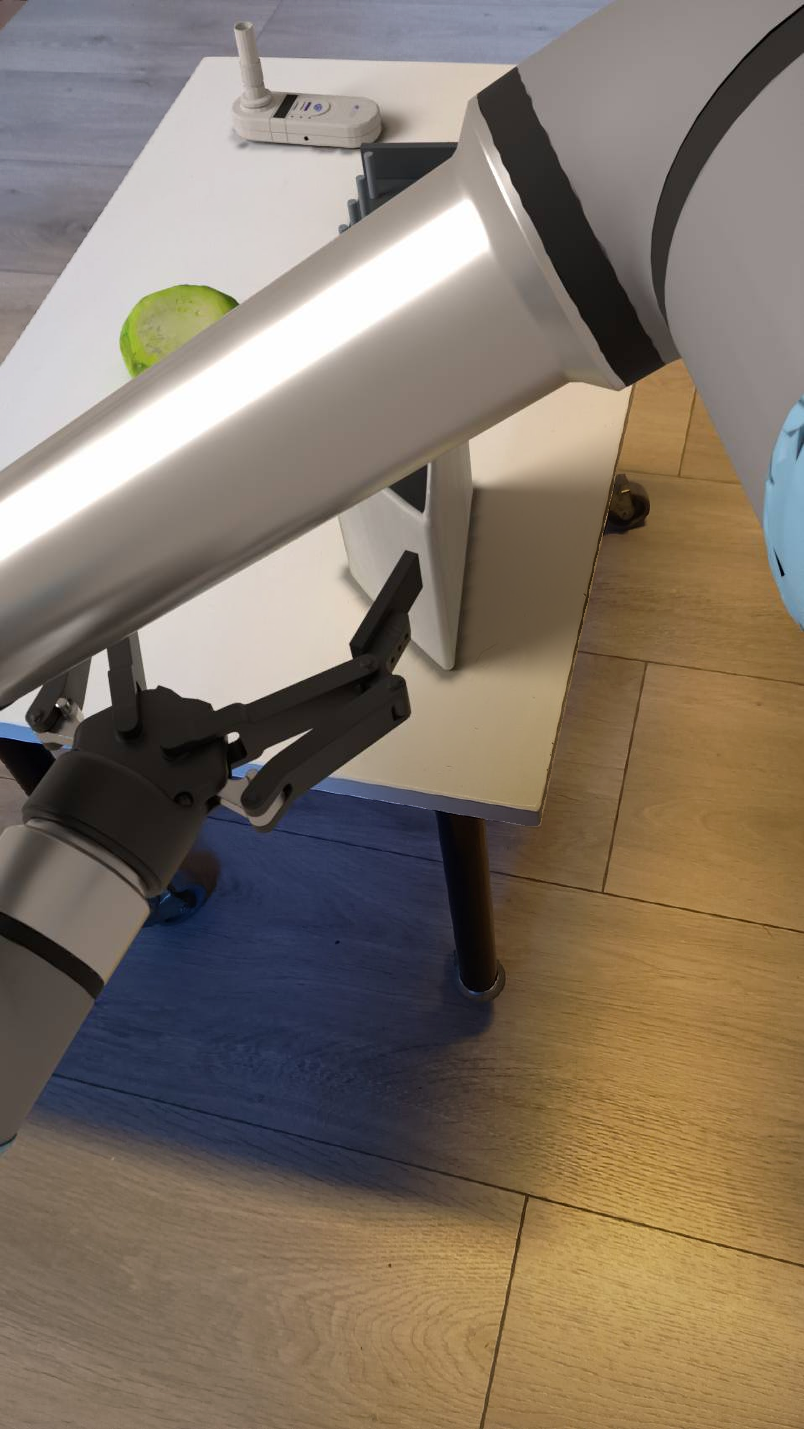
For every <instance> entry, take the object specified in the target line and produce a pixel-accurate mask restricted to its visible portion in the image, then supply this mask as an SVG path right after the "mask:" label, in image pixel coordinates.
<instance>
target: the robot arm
mask: <svg viewBox="0 0 804 1429" xmlns="http://www.w3.org/2000/svg"><path fill="white" fill-rule="evenodd" d="M457 142H458V146H457V149H456V151H455V152H454V154H453V156H452V157H451V158H450V159H448V160H447V161H445V162H444V163H442V164H441V165H440V166H438V167H437V168H435V169H434V170H432V171H431V172H429V173H428V174H427V175H425V176H424V177H422V178H421V179H419V180H418V181H417V182H415V183H414V184H412V185H411V186H409V187H408V188H406V189H405V190H404V191H402V192H401V193H399V194H398V195H396V196H395V197H394V198H392V199H391V200H389V201H388V202H386V203H385V204H383V205H382V206H381V207H379V208H378V209H376V210H375V211H373V212H372V213H371V214H369V215H368V216H366V217H365V218H363V219H362V220H360V221H359V222H358V223H356V224H355V225H353V226H352V227H350V228H349V229H348V230H346V231H345V232H343V233H342V234H340V235H337V236H336V237H334V238H333V239H332V240H330V241H329V242H327V243H326V244H324V245H322V246H321V247H320V248H318V249H317V250H316V251H315V252H313V253H311V254H309V256H307V257H305V258H304V259H303V260H301V261H300V262H299V263H297V264H296V265H294V266H293V267H291V268H290V269H288V270H287V271H286V272H284V273H283V274H281V275H280V276H278V277H277V278H275V279H274V280H273V281H271V282H270V283H268V284H266V285H265V286H264V287H263V288H261V289H259V291H257V292H256V293H254V294H253V295H251V296H250V297H248V298H247V299H245V300H244V301H243V302H241V303H239V304H240V305H238V306H237V307H235V308H234V309H233V310H231V311H230V312H228V313H227V314H225V315H224V316H222V317H221V318H220V319H218V320H217V321H215V322H214V323H212V324H211V325H209V326H208V327H207V328H205V329H204V330H202V331H201V332H199V333H198V334H197V335H195V336H194V337H192V338H191V339H189V340H188V341H186V342H185V343H184V344H182V345H181V346H179V347H178V348H176V349H175V350H174V351H172V352H171V353H169V354H168V355H166V356H165V357H163V358H162V359H161V360H159V361H158V362H156V363H155V364H153V365H152V366H151V367H149V368H148V369H146V370H145V371H143V372H142V373H140V374H139V375H138V376H136V377H135V378H132V379H131V380H129V381H128V382H126V383H125V384H123V385H121V386H120V387H119V388H117V389H116V390H115V391H113V392H111V393H110V394H109V395H107V396H106V397H105V398H103V399H102V400H100V401H99V402H97V403H96V404H94V405H92V407H90V408H89V409H87V410H86V411H84V412H83V413H82V414H80V415H79V416H77V417H76V418H75V419H73V420H71V421H70V422H69V423H67V424H66V425H63V427H61V428H60V429H58V430H57V431H55V432H54V433H53V434H51V435H50V436H48V437H47V438H45V439H44V440H43V441H41V442H39V444H37V445H36V446H34V447H33V448H31V449H30V450H28V451H27V452H26V453H24V454H22V455H20V456H19V457H18V458H17V459H15V460H14V461H12V462H11V463H10V464H8V465H7V466H5V467H4V468H2V469H1V470H0V712H2V711H4V710H5V709H7V708H9V707H10V706H11V705H13V704H14V703H16V702H17V701H18V700H19V699H21V698H23V697H25V696H26V695H28V694H30V693H31V692H33V691H35V690H37V689H39V688H40V687H41V688H40V689H39V691H38V692H37V693H36V694H37V695H36V696H35V697H34V699H33V701H32V702H31V705H29V707H28V708H27V709H28V710H27V711H26V712H25V715H24V719H25V722H26V723H27V725H28V726H29V727H30V729H31V730H32V733H33V734H34V735H35V736H36V738H37V739H38V740H39V741H40V743H41V744H42V746H43V747H44V748H45V750H48V751H51V752H53V751H54V752H55V751H58V750H60V749H62V748H63V747H64V746H66V747H71V748H70V750H69V751H66V752H63V753H61V754H60V755H59V756H58V757H57V758H56V759H55V761H54V762H53V763H52V765H51V766H50V767H49V769H48V770H47V772H45V775H44V776H43V777H42V779H41V780H40V782H39V783H38V784H37V785H36V787H35V788H34V790H33V791H32V793H31V794H30V795H29V797H28V798H27V799H26V801H25V802H24V804H23V805H22V807H21V819H22V823H23V824H13V825H11V826H8V827H5V829H4V830H3V832H1V835H0V1156H1V1155H4V1154H5V1153H6V1152H8V1150H9V1149H10V1148H11V1147H12V1145H13V1144H14V1143H15V1141H16V1138H17V1136H18V1135H19V1133H18V1132H19V1130H20V1129H21V1126H22V1125H23V1123H24V1121H26V1119H27V1117H28V1116H29V1113H30V1112H31V1110H32V1109H33V1107H34V1105H35V1103H36V1102H37V1100H38V1098H39V1096H40V1095H41V1093H42V1092H43V1090H44V1088H45V1087H46V1085H47V1083H48V1082H49V1080H50V1078H51V1076H52V1075H53V1073H54V1071H55V1070H56V1068H57V1066H58V1065H59V1063H60V1062H61V1060H62V1059H63V1056H64V1055H65V1053H66V1051H67V1050H68V1048H69V1046H70V1045H71V1043H72V1041H73V1040H74V1038H75V1037H76V1034H77V1033H78V1031H79V1030H80V1028H81V1026H82V1025H83V1023H84V1021H85V1020H86V1018H87V1016H88V1015H89V1013H90V1011H91V1010H92V1008H93V1007H94V1005H95V1002H96V1000H97V999H98V997H99V995H100V994H101V992H102V991H103V989H104V987H105V986H106V985H107V983H108V982H109V980H110V979H111V977H112V975H113V974H114V972H115V971H116V969H117V967H118V966H119V964H120V962H121V961H122V959H123V958H124V956H125V955H126V953H127V951H128V950H129V948H130V947H131V945H132V943H133V941H134V940H135V938H136V937H137V935H138V934H139V932H140V931H141V929H142V927H143V926H144V924H145V922H146V921H147V919H148V917H149V916H150V913H151V912H150V910H151V909H150V906H149V902H148V900H147V899H153V898H155V897H157V896H160V895H163V893H165V891H166V889H167V888H168V886H169V884H170V883H171V881H172V879H173V878H174V876H175V875H176V873H177V872H178V870H179V868H180V867H181V865H182V864H183V861H184V860H185V859H186V857H187V855H188V853H189V852H190V851H191V849H192V847H193V845H194V844H195V842H196V840H197V838H198V836H199V832H200V830H201V828H202V826H203V823H204V822H205V820H206V819H207V817H208V816H210V814H212V813H214V811H216V810H217V809H218V808H221V807H222V806H224V807H226V808H228V809H229V810H231V811H233V812H235V813H237V814H238V815H240V816H243V817H244V818H246V819H248V821H249V823H250V825H251V828H252V829H253V831H255V832H256V833H258V834H262V835H264V834H268V833H270V832H272V831H273V830H274V829H275V828H276V827H277V825H278V824H279V823H280V821H281V820H282V818H283V817H284V816H285V815H286V813H287V812H288V810H289V809H290V808H291V806H292V805H293V803H294V802H295V801H296V800H298V799H299V798H300V797H301V796H303V795H304V794H306V793H307V792H308V791H310V790H311V789H313V788H314V787H316V786H317V785H318V784H320V783H321V782H323V781H324V780H325V779H326V778H328V777H330V776H331V775H332V774H334V773H335V772H337V771H338V770H340V768H342V767H343V766H345V765H346V764H348V763H349V762H350V761H352V760H353V759H355V758H356V757H357V756H359V755H360V754H362V753H363V752H364V751H366V750H367V749H368V748H370V747H371V746H373V745H374V744H375V743H377V742H378V741H380V740H381V739H382V738H384V737H386V736H387V735H388V734H390V733H391V732H392V731H394V730H395V729H396V728H398V727H399V726H400V725H402V724H403V723H405V722H406V721H407V720H408V719H409V718H410V717H411V715H412V705H411V701H410V695H409V689H408V685H407V684H408V683H407V680H406V679H405V678H404V677H403V676H402V675H400V674H395V673H394V674H393V672H394V670H395V668H396V667H397V664H398V663H399V661H400V659H401V658H402V656H403V654H404V652H405V651H406V649H407V647H408V646H409V643H410V642H411V640H412V639H411V627H410V621H409V615H408V613H409V611H410V609H411V607H412V606H413V604H414V602H415V600H416V599H417V597H418V595H419V593H420V592H421V590H422V588H423V583H422V576H421V569H420V562H419V555H418V553H415V552H411V551H408V550H405V551H404V553H403V554H402V556H401V558H400V559H399V561H398V563H397V564H396V566H395V568H394V569H393V571H392V573H391V574H390V576H389V578H388V579H387V581H386V583H385V584H384V586H383V588H382V589H381V591H380V593H379V594H378V596H377V598H376V599H375V601H373V603H372V604H371V606H370V608H369V610H368V611H367V613H366V614H365V616H364V617H363V620H362V621H361V623H360V625H359V626H358V627H357V629H356V630H355V633H354V634H353V636H352V638H350V639H351V640H350V641H349V642H348V646H349V649H350V655H351V659H350V660H346V661H344V662H342V663H340V664H337V665H335V666H333V667H330V668H328V669H326V670H324V671H321V672H318V673H316V674H313V675H312V676H309V677H306V678H304V679H302V680H300V681H297V682H295V683H293V684H291V685H288V686H285V687H283V688H281V689H279V690H276V691H274V692H272V693H269V694H268V695H264V696H263V697H260V698H258V699H255V700H253V701H251V702H249V703H248V702H247V703H242V702H233V703H230V704H228V705H226V706H222V707H220V708H218V709H216V710H215V709H214V707H213V705H212V703H210V702H208V701H205V700H202V699H199V698H194V697H183V696H181V695H180V694H178V693H177V692H176V691H174V690H173V689H171V688H169V687H166V686H163V685H160V684H158V685H157V686H156V687H155V688H148V687H147V680H146V674H145V668H144V662H143V656H142V649H141V643H140V637H139V632H138V631H140V630H141V629H143V628H145V627H147V626H148V625H150V624H152V623H154V622H155V621H157V620H158V619H161V618H163V617H164V616H166V615H167V614H169V613H171V612H173V611H174V610H176V609H178V608H180V607H182V606H184V605H185V604H186V603H188V602H190V601H192V600H194V599H195V598H197V597H199V596H200V595H202V594H204V593H206V592H208V591H209V590H211V589H212V588H214V587H217V586H218V585H220V584H222V583H223V582H225V581H227V580H228V579H230V578H232V577H234V576H236V575H238V574H239V573H240V572H242V571H244V570H246V569H247V568H249V567H251V566H253V565H254V564H256V563H258V562H260V561H261V560H263V559H266V557H268V556H271V555H272V554H273V553H275V552H277V551H279V550H280V549H282V548H284V547H286V546H288V545H289V544H291V543H293V542H294V541H296V540H298V539H300V538H302V537H303V536H305V535H307V534H308V533H310V532H312V531H314V530H316V529H317V528H319V527H321V526H322V525H325V524H326V523H327V522H329V521H331V520H333V519H335V518H336V517H338V515H340V514H342V513H343V512H345V511H347V510H348V509H350V508H352V507H354V506H355V505H357V504H359V503H361V502H362V501H364V500H366V499H368V498H369V497H371V496H373V495H375V494H376V493H378V492H380V491H382V490H383V489H385V488H387V487H389V486H390V485H392V484H394V483H395V482H397V481H399V480H401V479H402V478H404V477H406V476H408V475H409V474H411V473H413V472H415V471H416V470H418V469H420V468H422V467H423V466H425V465H427V464H429V463H430V462H432V461H434V460H435V459H437V458H439V457H441V456H442V455H444V454H446V453H448V452H449V451H451V450H453V449H455V448H456V447H458V446H460V445H462V444H463V443H465V442H467V441H469V442H470V440H472V439H474V438H475V437H477V436H479V435H481V434H482V433H485V432H486V431H488V430H489V429H491V428H493V427H495V426H497V425H498V424H500V423H502V422H503V421H505V420H507V419H509V418H510V417H512V416H514V415H516V414H518V413H519V412H521V411H523V410H524V409H526V408H528V407H529V406H531V405H533V404H535V403H536V402H538V401H540V400H542V399H544V398H545V397H547V396H549V395H551V394H552V393H554V392H556V391H558V390H559V389H561V388H563V387H564V386H566V385H568V384H569V383H583V384H586V385H591V386H593V387H594V386H595V387H599V388H603V389H606V390H611V391H614V392H620V391H623V390H624V389H626V388H629V387H630V386H632V385H634V384H636V383H638V382H639V381H641V380H642V379H645V378H646V377H648V376H650V375H651V374H653V373H655V372H657V371H658V370H661V369H662V368H664V367H665V366H667V365H669V364H671V363H674V362H676V361H678V360H682V362H683V364H684V366H685V368H686V370H687V373H688V374H689V377H690V379H691V381H692V384H693V385H694V387H695V390H696V392H697V394H698V396H699V398H700V400H701V402H702V404H703V406H704V409H705V411H706V413H707V415H708V417H709V419H710V421H711V424H712V426H713V428H714V430H715V432H716V434H717V436H718V439H719V440H720V442H721V445H722V447H723V449H724V451H725V453H726V455H727V457H728V460H729V461H730V464H731V466H732V468H733V470H734V472H735V474H736V476H737V479H738V481H739V483H740V485H741V487H742V489H743V491H744V494H745V496H746V498H747V499H748V502H749V504H750V507H751V509H752V510H753V513H754V514H755V517H756V519H757V521H758V523H759V524H760V528H761V529H762V532H763V535H764V540H765V548H766V553H767V560H768V565H769V568H770V571H771V574H772V576H773V579H774V581H775V584H776V587H777V589H778V591H779V594H780V597H781V600H782V602H783V604H784V606H785V608H786V611H787V612H788V614H789V615H790V617H791V618H792V619H793V621H795V623H796V624H797V625H798V627H799V628H800V629H801V630H802V631H803V633H804V0H614V1H613V2H611V3H609V4H607V5H606V6H605V7H603V8H601V9H600V10H598V11H596V12H595V13H593V14H591V15H590V16H588V17H586V18H585V19H583V20H581V21H579V22H578V23H576V24H575V25H573V26H572V27H571V28H569V29H567V30H566V31H565V32H563V33H562V34H560V35H559V36H558V37H556V38H554V40H552V41H550V42H549V43H547V44H546V45H545V46H543V47H542V48H540V49H539V50H536V52H534V53H533V54H532V55H530V56H529V57H527V58H526V59H524V60H523V61H521V62H519V63H518V64H517V65H516V66H514V67H512V68H511V69H510V70H509V71H507V72H506V73H504V74H503V75H502V76H500V77H499V78H497V79H496V80H494V81H493V82H491V83H490V84H489V85H488V86H486V87H484V88H483V89H481V90H480V91H479V92H477V93H476V94H475V95H473V96H471V98H470V99H469V100H468V101H467V104H466V108H465V112H464V116H463V121H462V125H461V129H460V133H459V138H458V141H457ZM105 650H106V656H107V662H108V668H109V670H107V679H108V686H109V694H110V701H111V705H110V706H108V707H106V708H104V709H101V710H100V711H98V712H95V713H93V714H92V715H90V716H88V717H86V718H85V715H84V713H83V709H84V706H85V700H86V694H87V688H88V684H89V683H88V682H89V676H90V670H91V666H92V665H91V664H92V658H93V657H94V656H96V655H98V654H99V653H101V652H103V651H105ZM232 733H237V734H238V738H237V739H235V740H232V741H231V742H229V735H230V734H232ZM302 734H303V735H302ZM299 735H301V736H300V737H298V738H297V739H296V740H295V741H293V742H292V743H290V744H288V745H287V746H286V747H284V748H283V749H282V750H280V751H279V752H277V753H276V754H275V755H273V756H272V757H271V758H270V759H269V760H268V761H267V762H265V763H264V764H263V765H262V767H261V768H260V769H259V770H258V769H256V768H250V769H248V770H247V771H246V774H245V776H244V777H242V778H240V779H233V770H236V769H237V768H240V767H242V766H244V765H247V764H249V763H252V762H253V761H256V760H258V759H259V758H260V757H261V756H262V755H263V754H264V752H265V751H266V750H267V749H269V748H271V747H274V746H277V745H278V744H281V743H282V742H286V741H287V740H290V739H293V738H294V737H297V736H299Z"/></svg>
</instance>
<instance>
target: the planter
mask: <svg viewBox="0 0 804 1429" xmlns="http://www.w3.org/2000/svg"><path fill="white" fill-rule="evenodd" d="M471 463H472V462H471V450H470V440H469V441H467V442H465V443H463V444H462V445H460V446H458V447H456V448H455V449H453V450H451V451H449V452H448V453H446V454H444V455H442V456H441V457H439V458H437V459H435V460H434V461H432V462H430V463H429V464H427V465H425V466H423V467H422V468H420V469H418V470H416V471H415V472H413V473H411V474H409V475H408V476H406V477H404V478H402V479H401V480H399V481H397V482H395V483H394V484H392V485H390V486H389V487H387V488H385V489H383V490H382V491H380V492H378V493H376V494H375V495H373V496H371V497H369V498H368V499H366V500H364V501H362V502H361V503H359V504H357V505H355V506H354V507H352V508H350V509H348V510H347V511H345V512H343V513H342V514H340V515H338V516H337V520H338V524H339V528H340V534H341V537H342V541H343V545H344V550H345V554H346V558H347V563H348V567H349V568H348V569H349V572H350V575H351V576H352V577H353V579H354V580H355V581H356V582H357V583H358V585H359V586H360V587H361V588H362V590H363V591H364V592H365V593H366V594H367V596H368V597H369V598H370V599H371V600H372V601H373V602H374V601H375V599H376V598H377V596H378V594H379V593H380V591H381V589H382V588H383V586H384V584H385V583H386V581H387V579H388V578H389V576H390V574H391V573H392V571H393V569H394V568H395V566H396V564H397V563H398V561H399V559H400V558H401V556H402V554H403V553H404V551H405V550H408V551H411V552H415V553H418V555H419V562H420V569H421V576H422V583H423V588H422V590H421V592H420V593H419V595H418V597H417V599H416V600H415V602H414V604H413V606H412V607H411V609H410V611H409V613H408V615H409V621H410V627H411V640H412V641H413V642H414V643H415V644H416V645H417V646H418V647H419V648H420V649H421V650H422V651H423V652H425V653H426V654H427V655H428V656H429V657H430V658H431V659H432V660H434V662H435V663H437V664H438V665H439V666H440V667H441V668H442V669H443V670H445V671H451V670H452V669H453V668H454V666H455V662H456V652H457V651H456V649H457V640H458V633H459V632H458V631H459V622H460V612H461V603H462V593H463V585H464V577H465V576H464V575H465V566H466V557H467V548H468V538H469V529H470V528H469V527H470V520H471V510H472V503H473V502H472V499H473V494H474V486H473V485H474V484H473V474H472V464H471Z"/></svg>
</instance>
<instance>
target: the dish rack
mask: <svg viewBox="0 0 804 1429" xmlns="http://www.w3.org/2000/svg"><path fill="white" fill-rule="evenodd" d="M457 146H458V141H421V142H420V141H414V142H413V141H412V142H410V141H409V142H372V143H361V146H360V147H359V152H360V159H361V164H362V173H363V174H357V175H356V176H355V182H356V189H357V195H358V198H357V199H355V198H350V199H348V200H347V203H346V204H347V210H348V217H349V223H348V224H344V223H343V224H340V225H339V226H338V234H339V235H340V234H342V233H343V232H345V231H346V230H348V229H349V228H350V227H352V226H353V225H355V224H356V223H358V222H359V221H360V220H362V219H363V218H365V217H366V216H368V215H369V214H371V213H372V212H373V211H375V210H376V209H378V208H379V207H381V206H382V205H383V204H385V203H386V202H388V201H389V200H391V199H392V198H394V197H395V196H396V195H398V194H399V193H401V192H402V191H404V190H405V189H406V188H408V187H409V186H411V185H412V184H414V183H415V182H417V181H418V180H419V179H421V178H422V177H424V176H425V175H427V174H428V173H429V172H431V171H432V170H434V169H435V168H437V167H438V166H440V165H441V164H442V163H444V162H445V161H447V160H448V159H450V158H451V157H452V156H453V154H454V152H455V151H456V149H457ZM339 235H338V236H339Z"/></svg>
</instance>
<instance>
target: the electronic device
mask: <svg viewBox="0 0 804 1429" xmlns="http://www.w3.org/2000/svg"><path fill="white" fill-rule="evenodd" d="M233 31H234V38H235V41H236V46H237V52H238V58H239V62H238V64H239V69H240V76H241V79H242V80H241V81H242V84H243V89H244V92H243V93H241V95H240V96H239V97H237V98H236V99H235V100H234V101H233V103H232V104H231V109H230V110H231V111H230V114H231V117H232V118H231V119H232V123H233V127H234V131H235V132H236V134H237V135H238V136H239V137H240V138H242V139H244V140H247V141H255V142H268V143H279V144H291V145H292V144H293V145H294V144H295V145H307V146H318V147H336V148H337V147H339V148H345V149H347V148H348V149H356V148H360V146H361V143H374V142H375V141H376V140H378V138H379V137H380V135H381V132H382V121H381V120H382V119H381V118H382V117H381V109H380V107H379V104H378V103H377V102H376V101H374V100H373V99H370V98H367V97H364V96H351V95H350V96H348V95H334V94H319V93H307V92H306V93H303V92H291V91H289V92H288V91H276V90H270V89H269V88H266V85H265V81H264V79H265V78H264V73H263V69H262V68H263V66H262V61H261V58H260V57H259V52H258V47H257V41H256V36H255V30H254V25H253V23H252V22H251V21H245V20H244V21H240V22H237V23H235V24H234V25H233Z"/></svg>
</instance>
